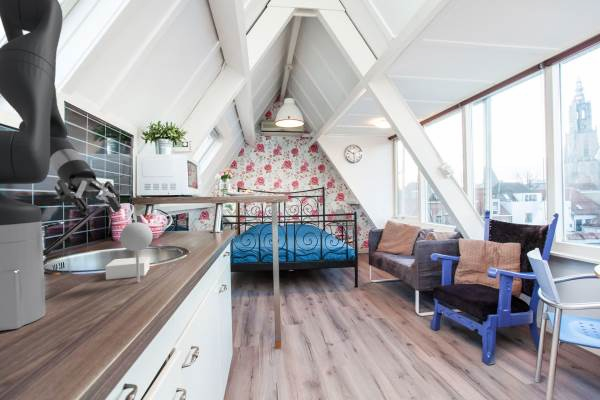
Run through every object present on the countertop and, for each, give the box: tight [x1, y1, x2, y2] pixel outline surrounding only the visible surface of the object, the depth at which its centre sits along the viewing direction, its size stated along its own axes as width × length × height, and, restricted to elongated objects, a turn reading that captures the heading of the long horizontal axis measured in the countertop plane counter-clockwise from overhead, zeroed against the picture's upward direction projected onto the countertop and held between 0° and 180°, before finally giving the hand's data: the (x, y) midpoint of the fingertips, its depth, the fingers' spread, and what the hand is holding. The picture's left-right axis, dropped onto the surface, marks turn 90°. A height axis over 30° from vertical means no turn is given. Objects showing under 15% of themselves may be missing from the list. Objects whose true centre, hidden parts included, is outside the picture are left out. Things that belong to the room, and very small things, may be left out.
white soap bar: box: [105, 256, 150, 281], centre depth 84 cm, size 9×9×4 cm
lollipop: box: [119, 221, 154, 283], centre depth 75 cm, size 7×7×15 cm
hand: (103, 210), depth 79 cm, fingers open, 8 cm apart
